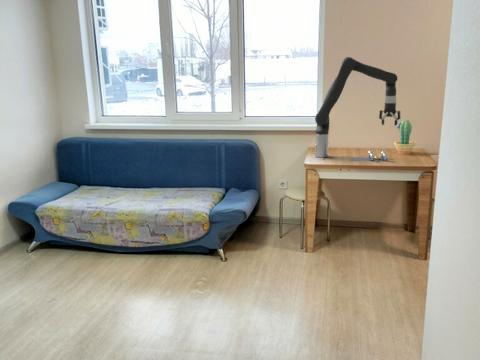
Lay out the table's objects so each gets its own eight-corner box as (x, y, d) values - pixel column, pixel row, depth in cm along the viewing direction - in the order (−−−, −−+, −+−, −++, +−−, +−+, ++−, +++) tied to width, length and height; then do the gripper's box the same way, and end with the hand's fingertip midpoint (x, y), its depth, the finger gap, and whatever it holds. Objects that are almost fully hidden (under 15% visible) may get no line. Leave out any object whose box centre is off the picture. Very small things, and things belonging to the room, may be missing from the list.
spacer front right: (383, 161, 312) (383, 154, 311) (382, 160, 315) (383, 153, 314) (387, 161, 312) (388, 154, 311) (387, 160, 315) (387, 153, 313)
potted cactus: (406, 150, 347) (408, 118, 340) (419, 154, 332) (422, 121, 326) (389, 152, 343) (391, 119, 336) (401, 156, 328) (403, 122, 322)
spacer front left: (370, 161, 314) (370, 154, 312) (369, 160, 317) (369, 153, 315) (374, 161, 313) (374, 154, 312) (373, 160, 316) (374, 153, 315)
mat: (350, 161, 316) (350, 161, 316) (349, 157, 327) (349, 157, 327) (387, 161, 312) (387, 161, 312) (384, 158, 323) (384, 157, 323)
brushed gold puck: (375, 160, 317) (375, 157, 316) (374, 158, 320) (374, 156, 320) (381, 160, 316) (381, 157, 315) (380, 158, 320) (380, 156, 319)
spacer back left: (368, 158, 322) (369, 151, 320) (368, 157, 325) (368, 150, 323) (372, 158, 321) (373, 151, 320) (372, 157, 324) (372, 150, 323)
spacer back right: (381, 158, 320) (381, 151, 319) (380, 157, 323) (381, 151, 322) (385, 158, 320) (386, 151, 319) (385, 157, 323) (385, 151, 321)
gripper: (378, 102, 313) (377, 125, 317) (399, 102, 306) (398, 126, 310) (381, 101, 319) (380, 124, 323) (402, 101, 312) (400, 124, 316)
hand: (389, 125), depth 317 cm, fingers open, 8 cm apart
